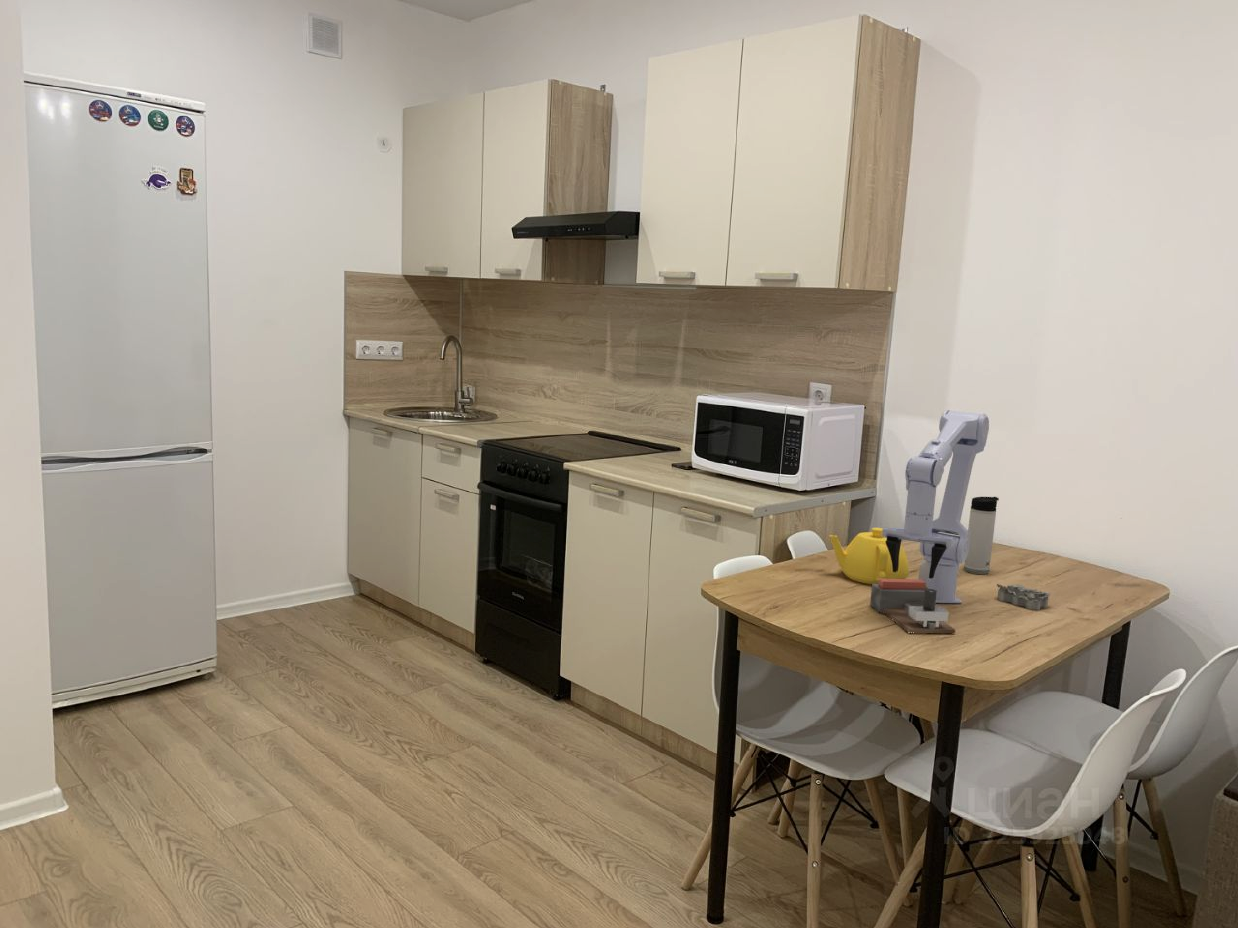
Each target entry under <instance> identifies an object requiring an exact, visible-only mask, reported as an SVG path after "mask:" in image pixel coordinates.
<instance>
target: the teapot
mask: <svg viewBox="0 0 1238 928" xmlns="http://www.w3.org/2000/svg"><path fill="white" fill-rule="evenodd" d="M883 528H884V527H883ZM883 528H881V527H872V528H871V531H868V532H867V531H866V532H859V533H857V534H856V535H855V536H854V538H853V539H852V540H851V541H850V543H849V544H848V546H847V547H846V548H845V550H844V548H843V547H842V544H841V542H840V541H839V538H838V535H835V534H834V535H832V534H829V539H830V542H831V543H830V544H832V548H833V551H834V553H835V556H836V559H837V562H838V565H839V567H840V569H841V571H842V572H843V573H844V575H845V576H846V577H847V578H848V579H849V578H850V579H849V580H851V579H852V580H851V581H854V580H855V581H854V582H857V581H858V582H857V583H860V582H861V583H862V584H865V583H866V585H871V584H878V581H879V579H907V578H908V576H909V573H910V565H909V561H908V557H907V554H906V552H905V549H904V547H903V546H902V544H901V546H900V552H899V566H898V571H897V572H893V568H892V561H891V556H890V553H889V550H888V548H887V545H886V540H887V538H884V537H882V530H883Z"/></svg>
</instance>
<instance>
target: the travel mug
mask: <svg viewBox="0 0 1238 928" xmlns="http://www.w3.org/2000/svg"><path fill="white" fill-rule="evenodd" d="M999 500H1000V499H999V497H998V496H976V497H972V498H971V505H970V511H969V512H970V513H969V521H968V527H967V528H968V529H967V530H968V532H969V534H970V539H969V551H968V556H967V558H966V560H965V561H964V566H963V570H964V571H965V572H967V573H969V574H975V575H987V574H989V573H990V567H991V559H992V551H993V541H994V532H995V526H996V515H997V504H998V501H999Z"/></svg>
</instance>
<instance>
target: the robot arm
mask: <svg viewBox="0 0 1238 928" xmlns="http://www.w3.org/2000/svg"><path fill="white" fill-rule="evenodd" d="M938 426H939V434H938V435H937V438H933V439H931V440H929V442H928V443H927V444H926V445H925V446H924V448H923V449H922V450H921V452H920V453H919V454H918V455H917V456H913V457H911V458H909V459H908V461H907V463H906V467H905V471H904V476H905V482H906V483H905V490H906V491H907V495H906V506H905V507H906V508H905V516H904V526H903V528H895V527H885V526H884V527H883V530H882V537H884V538H887V540H886V545H887V548H888V550H889V553H890V556H891V561H892V568H893V572H897V571H898V566H899V552H900V546H901V545H902V540H904V541H909V542H916V543H919V552H920V554H921V556H922V557H923V560H922V561H921V562H920V564H919V571H918V579H919V580H923V581H924V582H926V587H927V588H929V589H934V590H936V591H937V596H936V604H963V600H961V599H960V598H958V597H956V594H957V585H958V577H959V569H960V568H959V567H960V565H961V564H963V563H965V560H966V558H967V556H968V551H969V539H970V534H969V532H968V529H967V528H966V527H965V526H964V525H963V523H962V522H961V520H962V515H963V510H964V506H965V502H966V496H967V493H968V488H969V485H970V484H969V483H970V479H971V474H972V472H973V471H972V470H973V466H974V461H975V459H976V456H977V454H979V453H982V452H984V450H985V447H986V444H987V439H988V435H989V432H990V431H989V430H990V420H989V417H988V415H987V414H986V413H976V412H975V413H974V412H973V413H972V412H966V411H965V412H964V411H952V410H949V409H945V411H943V413H942V414H941V416H940V420H939V425H938ZM950 459H951V461H950ZM948 462H951V463H950V467H949V471H948V476H947V480H946V485H945V488H944V494H943V498H942V502H941V507H940V511H939V515H938V517H937V518H936V519H934V513H935V504H936V496H937V487H938V486H939V485H940V483H941V482H942V481H941V480H942V478H943V475H944V471H945V466H946V465H947V464H948Z"/></svg>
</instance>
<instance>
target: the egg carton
mask: <svg viewBox="0 0 1238 928" xmlns="http://www.w3.org/2000/svg"><path fill="white" fill-rule="evenodd" d="M996 586H997V588H998V590H997V591H998V592H997V599H998V600H999V601H1000V602H1006V603H1007V602H1008V603H1012V605H1013V606H1019V607H1020V606H1021V607H1025V608H1026V609H1027V610H1034V611H1039V610H1041V608H1043V609H1044V608H1045V609H1046V608H1049V607H1048V605H1049V597H1050V596H1051V594H1052V592H1045V591H1044V592H1043V591H1041V590H1040V591H1039V590H1038V589H1037V588H1036V589H1032V588H1028V587H1025V586H1024V585H1022V584H1012V585H1007V586H1005V585H1002V584H1000V583H997V584H996Z"/></svg>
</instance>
